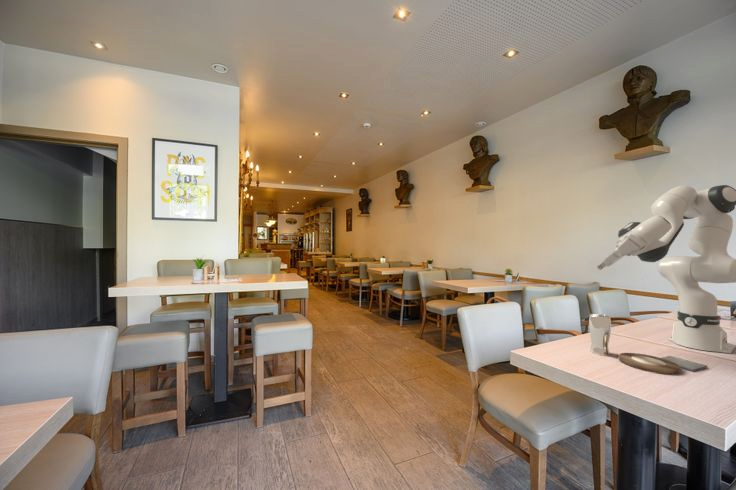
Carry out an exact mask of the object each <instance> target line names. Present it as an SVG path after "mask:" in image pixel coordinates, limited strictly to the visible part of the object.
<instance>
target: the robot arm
mask: <svg viewBox="0 0 736 490" xmlns="http://www.w3.org/2000/svg"><path fill="white" fill-rule="evenodd" d="M735 207H736V188H734V187H732V186H730V185H727V184H721V185H716V186H715V185H714V186H712V187H710V188H706V189H703V190H699V191H697V190H696V189H695V188H693V187H692V186H689V185H678V186H676V187H673V188H671V189H669V190H667V191H666V192H664V193H663V194H661V195H660V196H659V197H658V198H657V199H656V200H655V201H653V203H652V204H651V206H650V213H651V217H649V218H647V219H646V220H644V221H642V222H640V221H632V222H629V223H628V224H627V225H625V226H624V227H622V228H621V229H620V230H618V234H617V237H618V239H617V240H616V245H615V247H616V248H615V249H614V250H613V251H612V252H610V254H608V255H607V256H606V257H605V258H603V259H602V260H601V263H600V264H598V265H597V266H596V269H598V270H599V271H601V270H602V269H604V268H606V267H610V266H611V267H612V265H614V264H615V263H616V262H618V261H619V260H621V259H622V258H624V257H625V256H626V257H627V256H628V257H630V256H634V257H635V256H637V258H638V259H639V260H640V261H642V262H644V263H646V262H647V263H656V262H658V261H659V262H658V264H657V271H658V273H659V275H660V276H661V277H663V278H664V279H666V280H667V281H669V283H671V285H672V286H673V288H674V289H675V291H676V293H677V298H678V299H677V300H678V311H677V313H676V314H677V315H676V316H677V318H676V319H677V321H675V322H673V324H672V325H673V327H672V335H671V336H672V337H668V341H670V342H673V343H674V344H676V345H678V346H682V347H686V348H690V349H695V350H699V351H700V350H701V351H707V352H715V353H716V352H717V353H726V354H732V353H733V351H734V350H736V349H735V348H736V345H735V344H733V343H729V342H728V333H727V332H726V331H725V330H724V329H723V328H722V326H721V323H720V321H721V319H722V316H721V315H718V299H717V297H716V296H715V295H714V294H713V293H711V292H709V291H707V290H705V289H703V288H702V287H701V286H700V284H699V283H709V284H733V283H734V284H735V283H736V258H734V257H732V256H731V255H729V253H728V250H727V249H728V244H729V242H730V238H731V236H732V232H733V227H734V226H733V224H734V223H733V222H734V221H733V217H732V216H731V215H730V213H731V212H732V211H734V210H735V209H736V208H735ZM728 213H729V214H728ZM695 218H698V222H697V223H696V226H695V227H694V230H693V232H692V235H691V237H690V239H689V241H688V247H689V249H690V250H691V251H692V252H694V253H696V254H698V255H699V256H685V255H684V256H683V255H682V256H680V255H679V256H677V255H676V256H669V257H666V256H667V255H668V252H669V250H670V247H672V245H673V243H674V241H675V240H676V239H677V237H679V236H678V235H679V234H680V233H681V231H682V230H683V227H684V225H685V223H684V220H691V219H695Z"/></svg>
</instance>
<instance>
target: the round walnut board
mask: <svg viewBox="0 0 736 490" xmlns="http://www.w3.org/2000/svg"><path fill="white" fill-rule="evenodd" d="M618 360H619V361H620V362H621V363H622V364H624V365H626V366H628V367H631V368H634V369H637V370H641V371H644V372H648V373H649V372H650V373H654V374H658V375H659V374H660V375H672V376H673V375H679V374H681V370H682V369H681V367H680V366H679V365H678V364H676V363H674V362H671V361H669V360H666V359H662V357H659V356H654V355H650V354H645V353H635V352H623V353H622V352H621V353H618Z"/></svg>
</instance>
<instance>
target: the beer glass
mask: <svg viewBox="0 0 736 490" xmlns="http://www.w3.org/2000/svg"><path fill="white" fill-rule="evenodd" d="M588 329H589V334H590V339H591V341H590V342H591V344H590V345H591V346H590V352H591V353H592V354H595V355H598V356H605V357H606V356H610V348H609V343H610V339H611V332H612V320H611V316H610V315H607V314H599V313H589V320H588Z"/></svg>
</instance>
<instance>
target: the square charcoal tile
mask: <svg viewBox="0 0 736 490" xmlns="http://www.w3.org/2000/svg"><path fill="white" fill-rule="evenodd" d="M661 358H662V359H666V360H669V361H671V362H674V363H676V364H678V365H679V366H680V367H681V370H684V371H688V372H692V373H693V372H698V371H701V370H704V369H708V365H706V364H702V363H698V362H695V361H692V360H687V359H683V358H680V357H675V356H671V355H667V356H662V357H661Z"/></svg>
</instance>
